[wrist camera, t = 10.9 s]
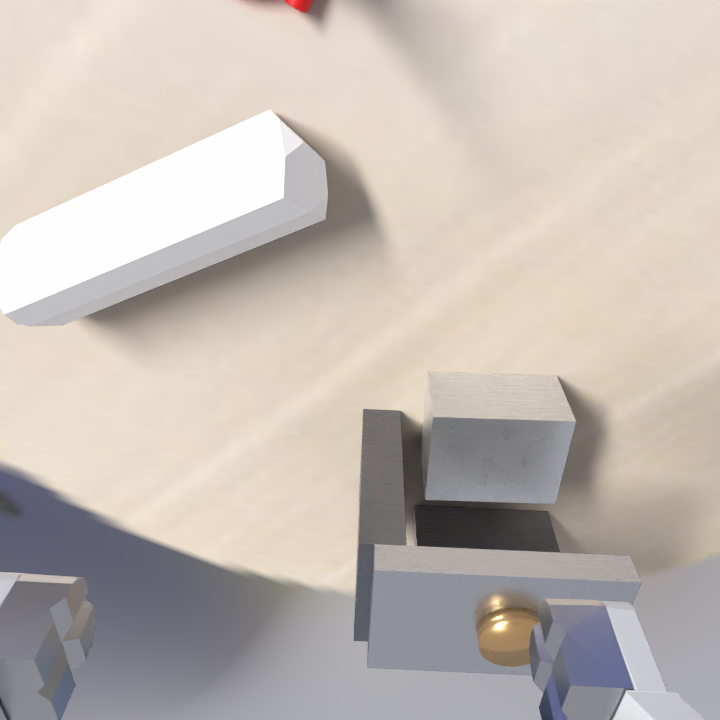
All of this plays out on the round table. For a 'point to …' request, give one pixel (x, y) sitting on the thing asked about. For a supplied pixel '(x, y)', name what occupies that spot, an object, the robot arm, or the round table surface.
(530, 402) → the brushed aluminum block
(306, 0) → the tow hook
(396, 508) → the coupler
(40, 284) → the crystal
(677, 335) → the round table surface
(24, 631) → the robot arm
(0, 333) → the round table surface
